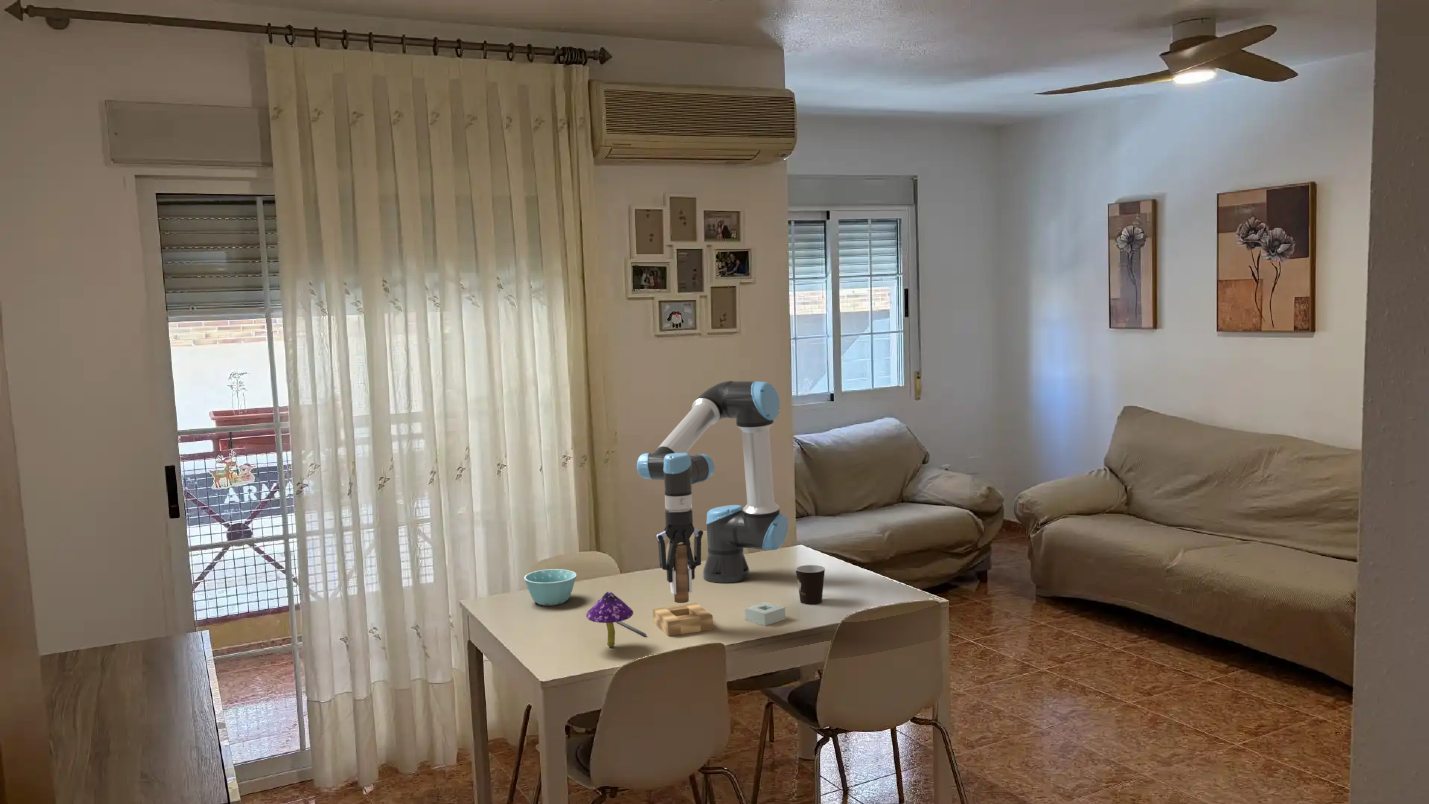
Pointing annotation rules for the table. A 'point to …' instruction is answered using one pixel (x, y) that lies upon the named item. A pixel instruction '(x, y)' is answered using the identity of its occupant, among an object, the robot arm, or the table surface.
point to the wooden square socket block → (682, 619)
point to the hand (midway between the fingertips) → (681, 592)
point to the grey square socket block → (765, 613)
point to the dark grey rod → (632, 628)
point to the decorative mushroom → (609, 613)
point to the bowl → (550, 586)
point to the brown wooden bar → (681, 574)
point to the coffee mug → (810, 583)
